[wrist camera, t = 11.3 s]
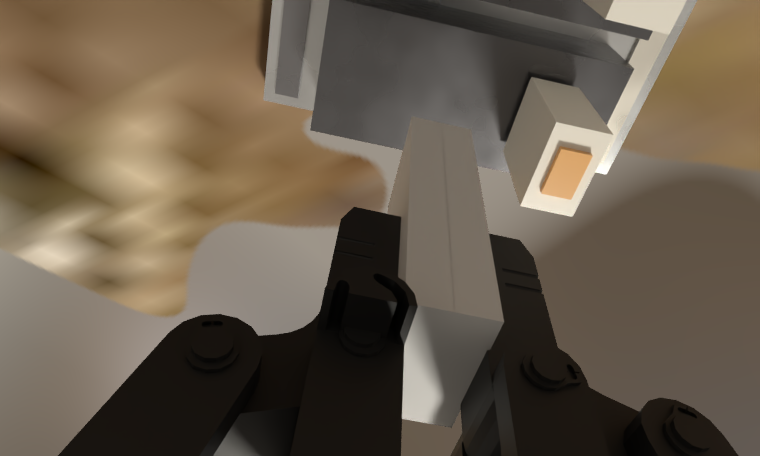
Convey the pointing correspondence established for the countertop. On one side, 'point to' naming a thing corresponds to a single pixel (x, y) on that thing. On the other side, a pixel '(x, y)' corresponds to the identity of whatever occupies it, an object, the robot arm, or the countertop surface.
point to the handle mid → (640, 12)
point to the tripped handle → (554, 147)
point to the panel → (455, 65)
